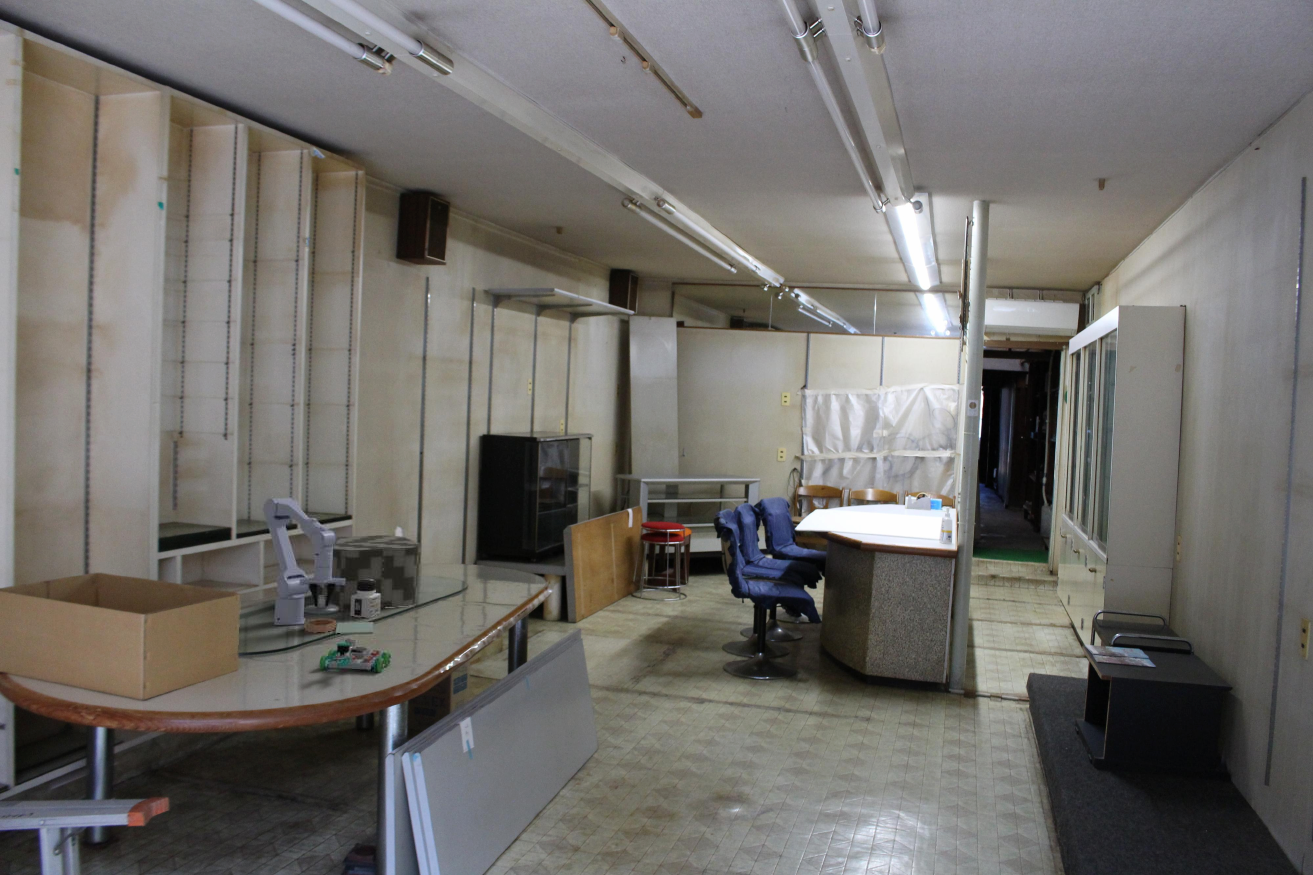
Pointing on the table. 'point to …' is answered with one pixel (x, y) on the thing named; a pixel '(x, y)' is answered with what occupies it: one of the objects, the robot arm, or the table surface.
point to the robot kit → (355, 657)
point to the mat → (354, 628)
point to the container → (365, 600)
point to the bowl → (320, 625)
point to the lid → (321, 606)
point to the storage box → (375, 569)
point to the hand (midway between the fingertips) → (321, 605)
